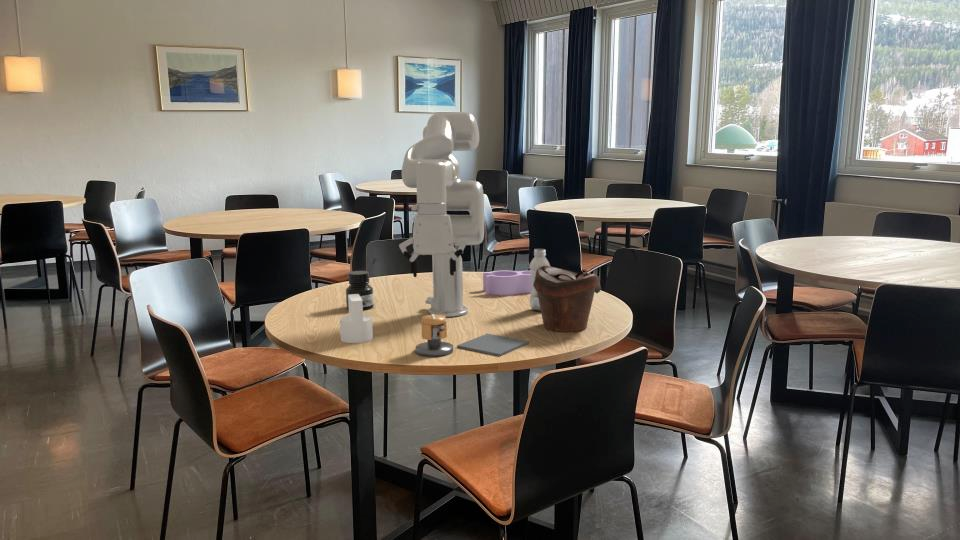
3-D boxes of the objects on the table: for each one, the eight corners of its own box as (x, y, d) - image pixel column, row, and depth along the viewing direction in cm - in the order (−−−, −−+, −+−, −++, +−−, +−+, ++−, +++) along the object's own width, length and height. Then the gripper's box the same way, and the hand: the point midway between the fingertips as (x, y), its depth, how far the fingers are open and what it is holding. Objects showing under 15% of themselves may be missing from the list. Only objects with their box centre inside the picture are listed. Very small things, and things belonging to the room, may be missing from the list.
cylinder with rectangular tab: (375, 341, 197) (373, 299, 195) (342, 344, 195) (340, 302, 193) (370, 333, 206) (368, 293, 204) (339, 335, 203) (337, 295, 201)
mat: (457, 347, 191) (457, 345, 191) (487, 335, 202) (487, 333, 202) (500, 356, 183) (500, 354, 183) (528, 343, 194) (528, 341, 194)
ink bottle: (353, 312, 230) (352, 276, 228) (340, 307, 237) (339, 272, 235) (379, 307, 237) (378, 272, 234) (366, 303, 243) (364, 269, 241)
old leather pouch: (607, 333, 202) (607, 271, 199) (538, 336, 201) (537, 274, 198) (592, 318, 220) (593, 261, 217) (528, 321, 218) (528, 264, 215)
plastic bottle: (549, 312, 227) (549, 251, 223) (528, 312, 228) (528, 251, 225) (551, 308, 233) (551, 248, 229) (530, 307, 235) (530, 247, 231)
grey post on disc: (407, 352, 187) (406, 323, 185) (432, 343, 195) (431, 315, 193) (437, 359, 181) (436, 329, 179) (460, 349, 189) (460, 320, 187)
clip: (534, 287, 267) (534, 269, 266) (541, 294, 255) (541, 275, 253) (482, 289, 264) (482, 271, 263) (486, 296, 252) (486, 277, 251)
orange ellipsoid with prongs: (421, 334, 190) (420, 314, 189) (444, 332, 191) (444, 312, 190) (423, 340, 183) (422, 320, 182) (447, 339, 184) (447, 318, 183)
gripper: (398, 212, 176) (400, 279, 179) (467, 210, 179) (468, 276, 182) (397, 209, 183) (399, 274, 186) (463, 207, 186) (464, 271, 189)
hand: (433, 275), depth 184 cm, fingers open, 9 cm apart
